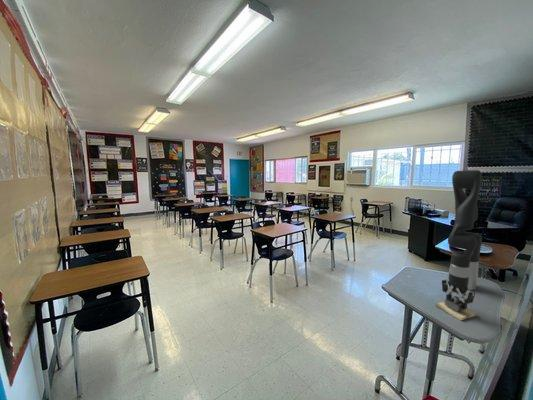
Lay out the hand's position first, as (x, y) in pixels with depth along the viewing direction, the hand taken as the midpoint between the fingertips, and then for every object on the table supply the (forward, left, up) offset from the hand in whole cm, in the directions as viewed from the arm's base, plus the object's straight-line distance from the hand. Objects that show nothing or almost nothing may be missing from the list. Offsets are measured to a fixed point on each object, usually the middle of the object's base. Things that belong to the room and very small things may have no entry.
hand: (455, 304), depth 114 cm
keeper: (0, 0, -3) cm, 3 cm away
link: (0, 0, -1) cm, 1 cm away
